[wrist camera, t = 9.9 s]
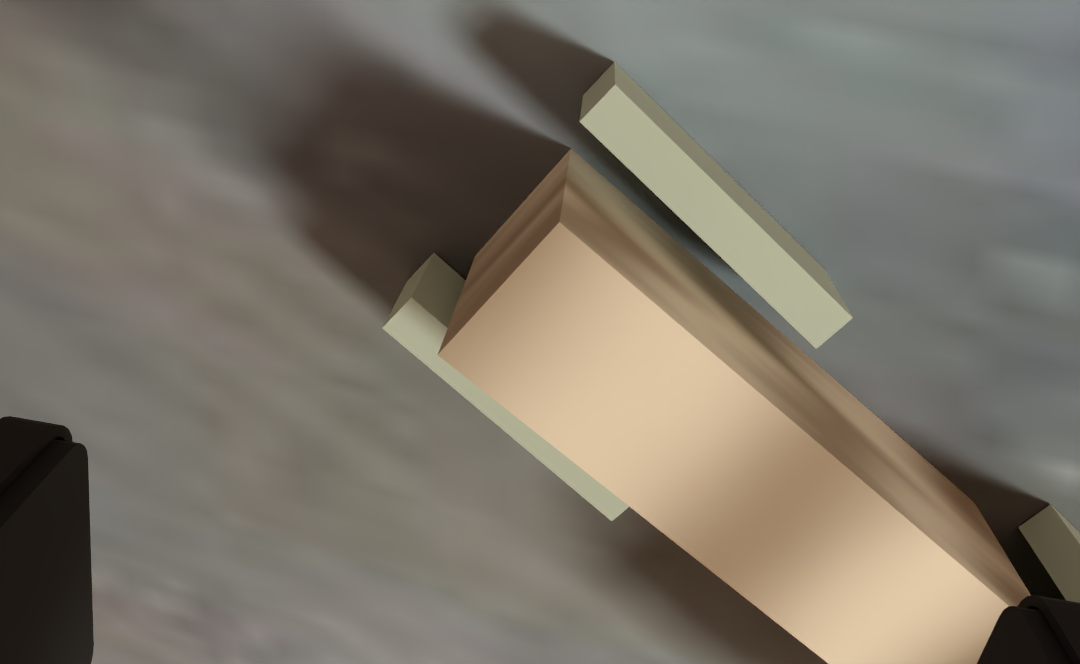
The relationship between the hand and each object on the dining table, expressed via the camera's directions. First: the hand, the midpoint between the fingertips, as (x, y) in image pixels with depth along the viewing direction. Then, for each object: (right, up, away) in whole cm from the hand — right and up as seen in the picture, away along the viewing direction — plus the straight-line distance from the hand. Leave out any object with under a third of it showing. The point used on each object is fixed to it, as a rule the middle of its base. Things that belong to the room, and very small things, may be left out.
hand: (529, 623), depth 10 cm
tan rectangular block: (+5, +2, +15) cm, 16 cm away
